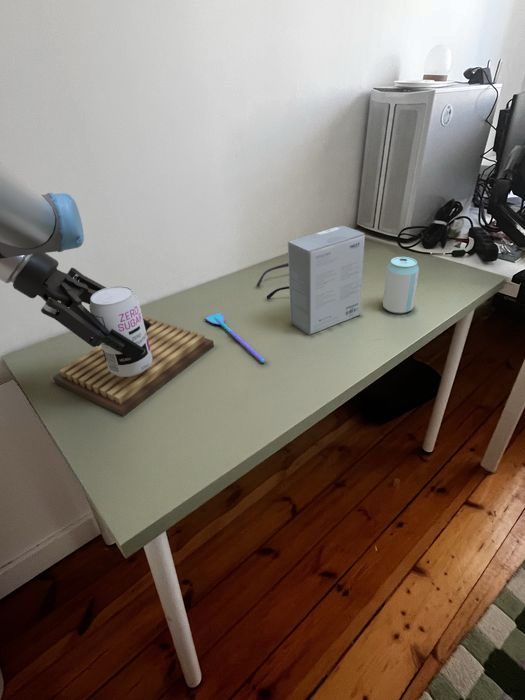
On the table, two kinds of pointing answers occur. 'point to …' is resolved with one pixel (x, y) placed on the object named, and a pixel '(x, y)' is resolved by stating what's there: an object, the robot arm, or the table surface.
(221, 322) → the spoon
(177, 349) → the scrub board
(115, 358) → the supplement can
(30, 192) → the robot arm
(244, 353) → the table surface
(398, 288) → the can
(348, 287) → the hard drive box
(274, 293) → the sunglasses
